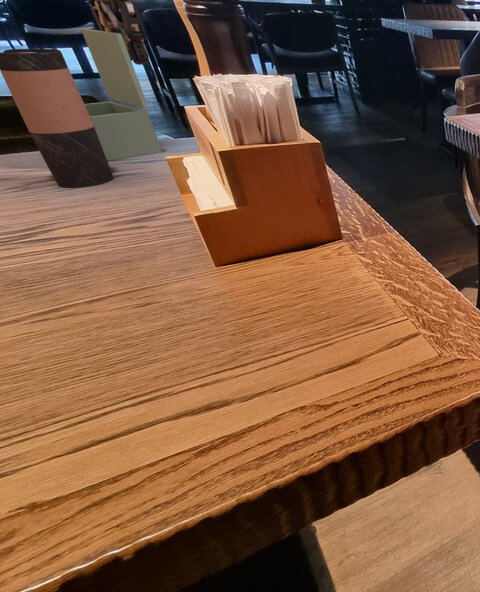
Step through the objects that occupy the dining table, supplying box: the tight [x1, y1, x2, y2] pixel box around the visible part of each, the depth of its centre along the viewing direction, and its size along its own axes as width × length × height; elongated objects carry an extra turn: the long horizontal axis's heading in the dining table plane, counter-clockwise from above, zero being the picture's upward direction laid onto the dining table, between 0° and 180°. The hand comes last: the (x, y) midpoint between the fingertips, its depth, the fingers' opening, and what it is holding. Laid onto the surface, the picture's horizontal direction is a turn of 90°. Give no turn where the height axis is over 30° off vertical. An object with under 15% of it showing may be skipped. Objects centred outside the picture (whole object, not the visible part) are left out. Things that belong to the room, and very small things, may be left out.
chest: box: [84, 100, 163, 161], centre depth 98 cm, size 12×15×9 cm
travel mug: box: [0, 48, 114, 188], centre depth 83 cm, size 8×8×20 cm
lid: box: [80, 28, 149, 109], centre depth 99 cm, size 12×15×5 cm
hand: (134, 62), depth 99 cm, fingers closed on lid, 6 cm apart
